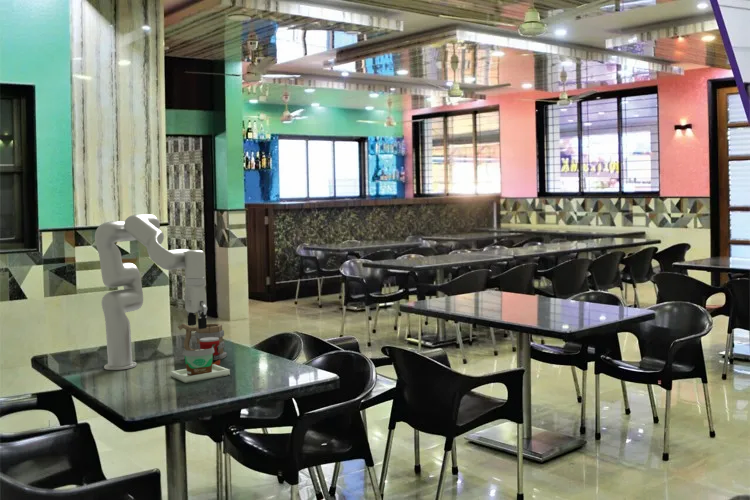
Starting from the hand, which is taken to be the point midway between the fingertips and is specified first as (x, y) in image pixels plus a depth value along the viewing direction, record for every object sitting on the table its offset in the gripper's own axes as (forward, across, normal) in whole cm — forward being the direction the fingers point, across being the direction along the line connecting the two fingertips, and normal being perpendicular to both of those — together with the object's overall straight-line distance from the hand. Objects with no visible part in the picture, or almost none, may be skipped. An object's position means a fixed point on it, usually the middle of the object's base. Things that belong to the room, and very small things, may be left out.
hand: (197, 326), depth 298 cm
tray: (+19, +1, 0) cm, 19 cm away
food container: (+18, +2, 0) cm, 19 cm away
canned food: (+19, -14, +11) cm, 27 cm away
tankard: (+20, -31, +15) cm, 40 cm away
